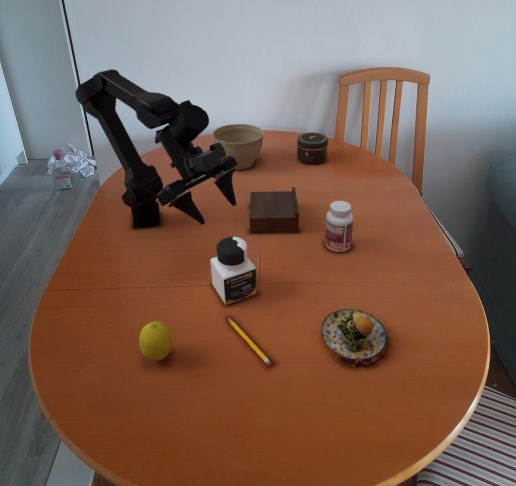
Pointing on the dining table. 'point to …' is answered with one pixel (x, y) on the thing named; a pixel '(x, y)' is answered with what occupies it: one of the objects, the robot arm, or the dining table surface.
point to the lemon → (155, 341)
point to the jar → (312, 147)
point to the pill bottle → (339, 226)
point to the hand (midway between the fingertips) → (219, 214)
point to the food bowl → (354, 336)
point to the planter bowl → (240, 142)
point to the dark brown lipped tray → (274, 212)
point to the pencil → (250, 343)
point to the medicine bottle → (233, 270)
